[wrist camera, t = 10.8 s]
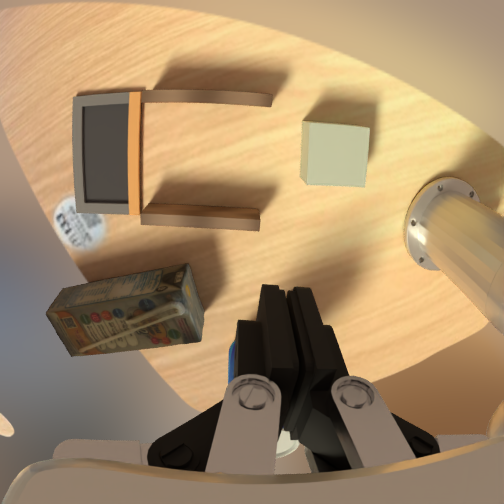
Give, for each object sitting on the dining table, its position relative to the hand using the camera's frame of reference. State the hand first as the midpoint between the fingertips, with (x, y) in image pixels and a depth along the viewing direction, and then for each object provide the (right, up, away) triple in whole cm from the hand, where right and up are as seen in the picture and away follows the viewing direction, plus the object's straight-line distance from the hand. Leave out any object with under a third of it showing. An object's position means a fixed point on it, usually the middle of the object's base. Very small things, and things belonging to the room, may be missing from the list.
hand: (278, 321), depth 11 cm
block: (+7, +13, +22) cm, 26 cm away
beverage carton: (-17, -4, +29) cm, 33 cm away
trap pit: (-17, +13, +20) cm, 29 cm away
